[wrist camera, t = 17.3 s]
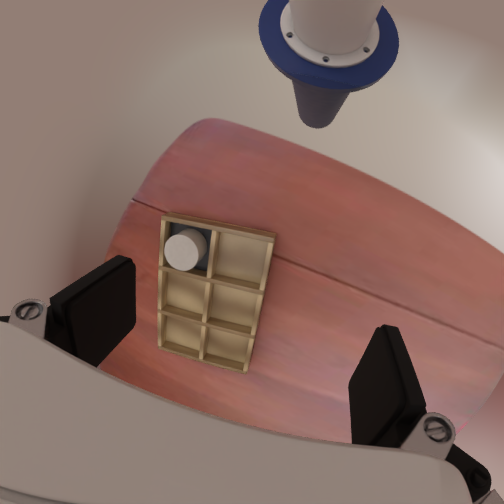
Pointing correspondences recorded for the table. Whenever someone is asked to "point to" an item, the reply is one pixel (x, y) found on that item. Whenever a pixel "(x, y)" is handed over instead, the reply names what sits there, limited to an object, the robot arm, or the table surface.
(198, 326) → the compartment tray
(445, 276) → the table surface
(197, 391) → the table surface
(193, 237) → the grey squat cylinder
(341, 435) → the table surface
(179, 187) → the table surface
